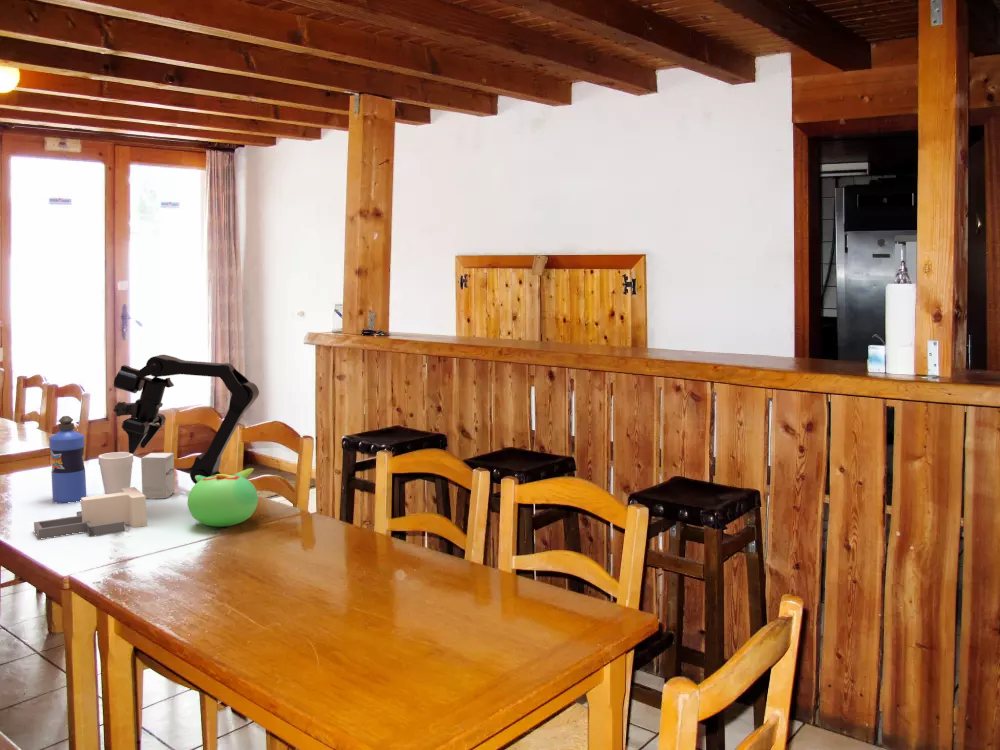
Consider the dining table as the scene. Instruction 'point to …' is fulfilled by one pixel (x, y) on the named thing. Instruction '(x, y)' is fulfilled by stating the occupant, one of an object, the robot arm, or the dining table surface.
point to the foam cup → (116, 471)
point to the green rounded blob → (223, 499)
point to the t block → (115, 508)
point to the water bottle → (67, 463)
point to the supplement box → (158, 475)
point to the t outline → (74, 527)
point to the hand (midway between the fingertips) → (136, 450)
